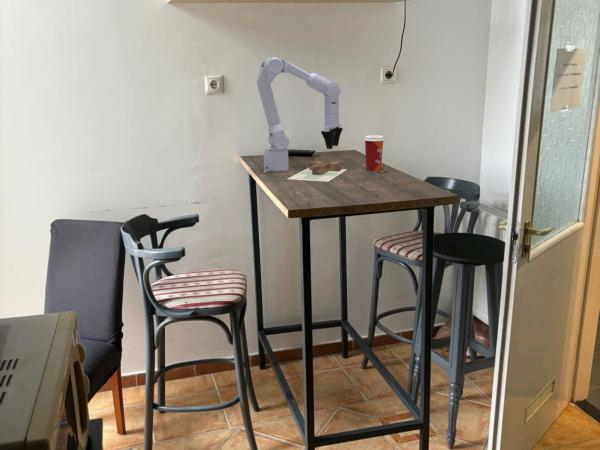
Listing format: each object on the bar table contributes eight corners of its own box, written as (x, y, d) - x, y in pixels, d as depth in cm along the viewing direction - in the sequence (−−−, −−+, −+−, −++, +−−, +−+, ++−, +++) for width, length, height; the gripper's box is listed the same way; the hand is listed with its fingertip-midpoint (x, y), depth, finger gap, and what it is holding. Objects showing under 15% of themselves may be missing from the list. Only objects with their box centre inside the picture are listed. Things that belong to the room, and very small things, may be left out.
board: (286, 181, 218) (286, 179, 218) (308, 169, 239) (308, 167, 239) (328, 184, 212) (328, 181, 212) (347, 171, 234) (347, 169, 234)
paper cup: (382, 174, 229) (383, 137, 225) (362, 173, 230) (363, 137, 226) (384, 170, 236) (384, 135, 232) (364, 169, 238) (365, 134, 234)
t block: (302, 173, 227) (302, 165, 226) (312, 168, 237) (312, 160, 237) (332, 175, 223) (332, 167, 222) (341, 169, 233) (341, 162, 233)
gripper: (335, 115, 228) (336, 150, 232) (346, 111, 241) (347, 144, 245) (318, 115, 230) (319, 150, 234) (330, 111, 243) (330, 144, 247)
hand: (332, 147), depth 239 cm, fingers open, 7 cm apart
